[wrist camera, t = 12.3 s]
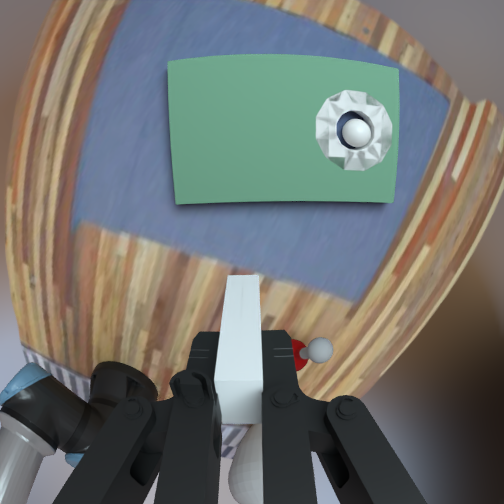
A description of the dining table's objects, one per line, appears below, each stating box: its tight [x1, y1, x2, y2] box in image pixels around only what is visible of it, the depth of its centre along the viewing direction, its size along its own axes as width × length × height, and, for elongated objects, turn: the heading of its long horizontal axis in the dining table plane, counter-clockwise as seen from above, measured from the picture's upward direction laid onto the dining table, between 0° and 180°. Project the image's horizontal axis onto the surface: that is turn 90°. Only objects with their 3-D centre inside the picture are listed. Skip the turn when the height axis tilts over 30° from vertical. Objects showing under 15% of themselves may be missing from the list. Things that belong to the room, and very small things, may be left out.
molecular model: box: [291, 337, 333, 371], centre depth 43 cm, size 18×6×10 cm, turn 151°
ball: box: [342, 119, 371, 147], centre depth 32 cm, size 4×4×4 cm
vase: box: [228, 424, 315, 504], centre depth 48 cm, size 18×18×25 cm
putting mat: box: [168, 54, 399, 204], centre depth 32 cm, size 28×18×2 cm, turn 91°
